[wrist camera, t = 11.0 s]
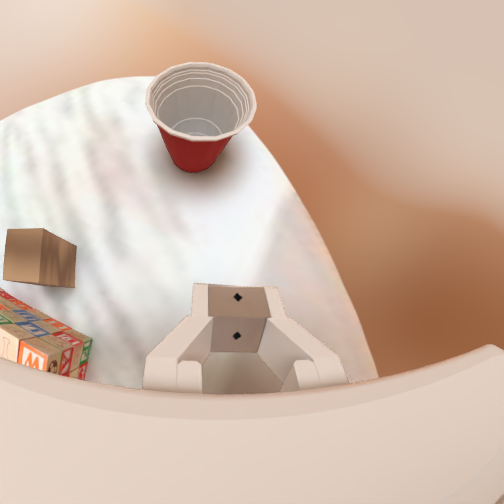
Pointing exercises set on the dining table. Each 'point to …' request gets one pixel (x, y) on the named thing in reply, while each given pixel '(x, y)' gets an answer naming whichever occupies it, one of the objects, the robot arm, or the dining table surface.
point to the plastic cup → (199, 111)
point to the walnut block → (39, 258)
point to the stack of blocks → (41, 340)
